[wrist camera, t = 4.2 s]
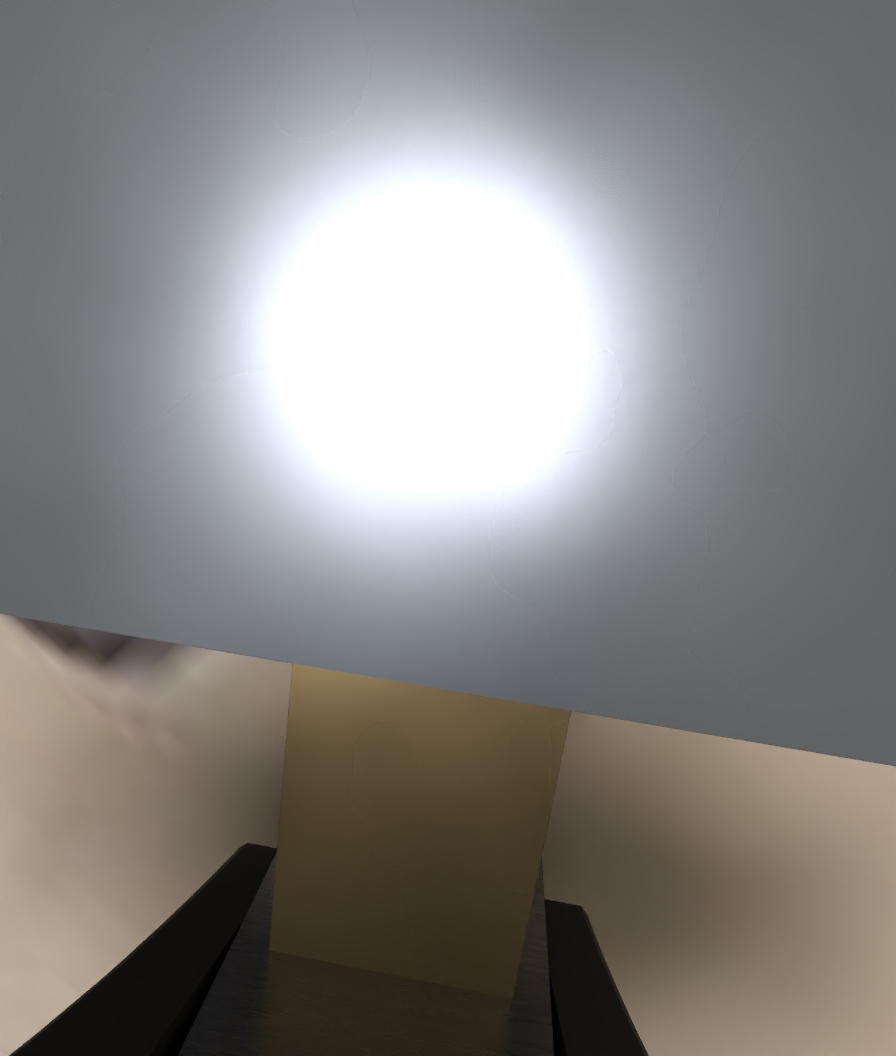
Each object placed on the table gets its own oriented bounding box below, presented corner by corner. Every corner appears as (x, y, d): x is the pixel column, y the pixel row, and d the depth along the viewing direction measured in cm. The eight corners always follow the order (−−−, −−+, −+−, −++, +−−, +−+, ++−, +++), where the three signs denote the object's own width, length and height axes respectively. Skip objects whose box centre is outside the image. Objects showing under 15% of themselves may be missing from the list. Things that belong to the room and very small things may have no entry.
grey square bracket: (717, 578, 9) (994, 859, 4) (223, 501, 10) (-129, 660, 4) (837, 100, 8) (1552, -493, 2) (246, 34, 8) (-245, -589, 3)
